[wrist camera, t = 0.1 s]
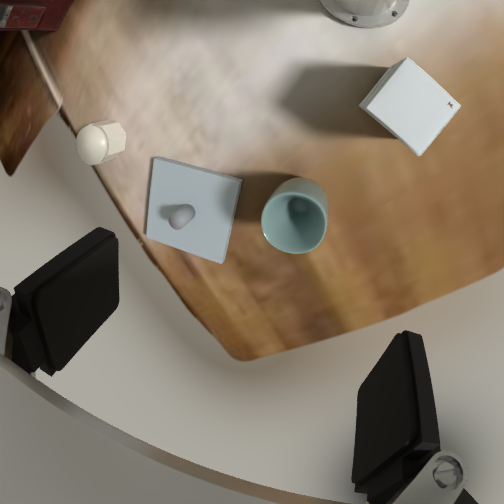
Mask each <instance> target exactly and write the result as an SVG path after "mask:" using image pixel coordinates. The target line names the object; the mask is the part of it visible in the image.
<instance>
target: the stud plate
mask: <svg viewBox="0 0 504 504" xmlns="http://www.w3.org/2000/svg"><path fill="white" fill-rule="evenodd" d="M242 181H243V179H240V178H236V177H233V176H229V175H226V174H222V173H219V172H215V171H212V170H208V169H205V168H201V167H197V166H194V165H190V164H186V163H182V162H179V161H175V160H171V159H167V158H163V157H156V158H154V163H153V172H152V180H151V189H150V199H149V209H148V221H147V233H146V237H147V238H150V239H152V240H155V241H158V242H161V243H164V244H166V245H169V246H172V247H175V248H178V249H180V250H183V251H186V252H189V253H192V254H194V255H197V256H200V257H203V258H206V259H209V260H211V261H214V262H217V263H220V264H222V263H223V261H224V260H225V256H226V252H227V247H228V242H229V238H230V234H231V229H232V225H233V220H234V216H235V211H236V207H237V203H238V198H239V194H240V190H241V185H242Z"/></svg>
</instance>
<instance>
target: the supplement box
mask: <svg viewBox="0 0 504 504" xmlns="http://www.w3.org/2000/svg"><path fill="white" fill-rule="evenodd" d="M359 107H360V108H362V109H363V110H364V111H365V112H367V113H368V114H369V115H370V116H371V117H373V118H374V119H375V120H376V121H377V122H379V123H380V124H381V125H382V126H383V127H384V128H386V129H387V130H388V131H389V132H390V133H392V134H393V135H394V136H395V137H396V138H397V139H399V140H400V141H401V142H402V143H403V144H405V145H406V146H407V147H408V148H410V149H411V150H412V151H413V152H414V153H415V154H416V155H417V156H420V155H421V154H422V153H423V152H424V151H425V150H426V149H427V147H428V146H429V145H430V144H431V143H432V141H433V140H434V139H435V138H436V136H437V135H438V134H439V133H440V132H441V131H442V130H443V128H444V127H445V126H446V124H447V123H448V122H449V121H450V119H451V118H452V117H453V116H454V114H455V113H456V112H457V111H458V110H459V108H460V107H461V105H460V104H459V103H458V102H457V101H456V100H455V99H454V98H453V97H452V96H451V95H450V94H449V93H448V92H446V91H445V90H444V89H443V88H442V87H441V86H440V85H439V84H438V83H437V82H436V81H435V80H433V79H432V78H431V77H430V76H429V75H428V74H427V73H426V72H425V71H423V70H422V69H421V68H420V67H419V66H418V65H417V64H415V63H414V62H413V61H412V60H411V59H409V58H408V57H406V58H405V59H403V60H401V61H399V62H398V63H396V64H394V65H392V66H391V67H389V68H388V69H387V71H386V72H385V74H384V75H383V76H382V77H381V79H380V80H379V81H378V82H377V83H376V85H375V86H374V87H373V88H372V90H371V91H370V92H369V93H368V95H367V96H366V97H365V98H364V100H363V101H362V102H361V103H360V104H359Z"/></svg>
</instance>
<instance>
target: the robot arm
mask: <svg viewBox="0 0 504 504" xmlns="http://www.w3.org/2000/svg"><path fill="white" fill-rule="evenodd" d="M320 2H321V3H322V5H323V6H324V7H325V8H326V9H327V10H328V11H329V12H330V13H331V14H332V15H333V16H335V17H336V18H338V19H339V20H341V21H343V22H345V23H348V24H351V25H353V26H358V27H363V28H377V27H383V26H386V25H389V24H391V23H393V22H395V21H396V20H397V19H399V18H400V17H401V16H402V15H403V13H404V12H405V10H406V8H407V6H408V3H409V0H320ZM392 14H394V15H395V16H392ZM352 19H355V20H356V21H355V22H354V21H352ZM14 290H15V294H14V295H13V296H11V294H10V292H9V291H8V290H7V289H4V288H2V287H0V504H349V503H342V502H336V501H331V500H325V499H320V498H315V497H310V496H305V495H300V494H295V493H291V492H287V491H282V490H278V489H274V488H270V487H267V486H263V485H259V484H255V483H252V482H249V481H245V480H242V479H239V478H236V477H233V476H229V475H226V474H223V473H220V472H218V471H215V470H212V469H209V468H206V467H203V466H200V465H198V464H195V463H193V462H190V461H188V460H185V459H183V458H180V457H177V456H175V455H173V454H171V453H168V452H166V451H163V450H161V449H159V448H157V447H154V446H152V445H150V444H148V443H146V442H144V441H142V440H140V439H138V438H135V437H133V436H131V435H129V434H127V433H125V432H123V431H122V430H119V429H118V428H116V427H114V426H112V425H110V424H108V423H106V422H105V421H103V420H101V419H99V418H97V417H95V416H94V415H92V414H90V413H89V412H87V411H85V410H84V409H82V408H80V407H78V406H77V405H75V404H74V403H72V402H70V401H69V400H67V399H66V398H64V397H62V396H61V395H59V394H58V393H56V392H55V391H53V390H52V389H50V388H49V387H47V386H46V385H44V384H43V383H42V382H40V381H38V380H37V379H36V378H35V371H36V370H37V369H38V368H39V367H40V369H41V370H42V371H44V372H46V373H47V374H48V375H50V376H52V375H53V374H54V373H55V372H56V371H60V370H62V369H63V368H64V367H65V365H66V364H67V363H68V362H69V361H70V360H71V359H72V357H73V356H74V355H75V354H76V353H77V352H78V351H79V349H80V348H81V347H82V346H83V345H84V344H85V343H86V342H87V341H88V339H89V338H90V337H91V336H92V335H93V334H94V333H95V332H96V331H97V329H98V328H99V327H100V326H101V325H102V324H103V323H104V322H105V321H106V320H107V319H108V317H109V316H110V315H111V314H112V313H113V312H114V311H115V310H116V308H117V307H118V304H119V272H118V239H117V238H116V237H115V233H114V232H112V231H109V230H107V229H104V228H101V227H98V228H96V229H94V230H93V231H91V232H90V233H88V234H87V235H85V236H84V237H82V238H81V239H80V240H78V241H77V242H75V243H74V244H72V245H71V246H69V247H68V248H67V249H65V250H64V251H62V252H61V253H59V254H58V255H57V256H55V257H54V258H53V259H51V260H50V261H49V262H47V263H46V264H44V265H43V266H42V267H40V268H39V269H38V270H36V271H35V272H34V273H32V274H31V275H30V276H28V277H27V278H26V279H24V280H23V281H22V282H21V283H19V284H18V285H17V286H15V287H14ZM356 418H357V419H356V433H355V446H354V458H353V469H352V483H355V492H357V493H365V494H367V501H368V502H367V503H366V504H478V503H477V502H476V501H475V500H474V498H473V497H472V496H471V495H470V494H469V493H468V492H467V491H466V490H465V489H464V486H465V484H466V481H467V471H466V467H465V465H464V462H463V461H462V460H461V458H460V457H459V456H457V455H456V454H455V453H453V452H450V451H441V450H440V439H439V430H438V422H437V415H436V408H435V402H434V395H433V389H432V384H431V378H430V372H429V367H428V362H427V357H426V352H425V348H424V343H423V339H422V336H421V335H420V334H416V333H413V332H410V331H406V330H405V331H403V332H402V333H401V334H400V333H397V334H396V335H395V337H394V338H393V340H392V342H391V343H390V344H389V346H388V347H387V349H386V350H385V352H384V353H383V355H382V356H381V358H380V359H379V361H378V362H377V364H376V365H375V366H374V368H373V369H372V371H371V372H370V373H369V375H368V377H367V378H366V379H365V381H364V382H363V383H362V384H361V386H360V388H359V391H358V396H357V417H356Z"/></svg>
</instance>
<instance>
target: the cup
mask: <svg viewBox="0 0 504 504" xmlns="http://www.w3.org/2000/svg"><path fill="white" fill-rule="evenodd" d="M328 216H329V205H328V199H327V195H326V193H325V191H324V189H323V188H322V187H321V186H320V185H319V184H318V183H316V182H315V181H313V180H311V179H307V178H301V177H298V178H291V179H288V180H286V181H284V182H283V183H281V184H280V185H279V186H278V187H277V188H276V189H275V190H274V192H273V193H272V195H271V196H270V197H269V199H268V200H267V202H266V204H265V206H264V208H263V211H262V215H261V227H262V231H263V234H264V236H265V238H266V240H267V241H268V242H269V243H270V244H271V245H272V246H274V247H275V248H277V249H279V250H281V251H284V252H287V253H293V254H302V253H307V252H309V251H312V250H313V249H315V248H316V247H317V246H318V245H319V244H320V243H321V241H322V240H323V238H324V236H325V233H326V230H327V224H328Z"/></svg>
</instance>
